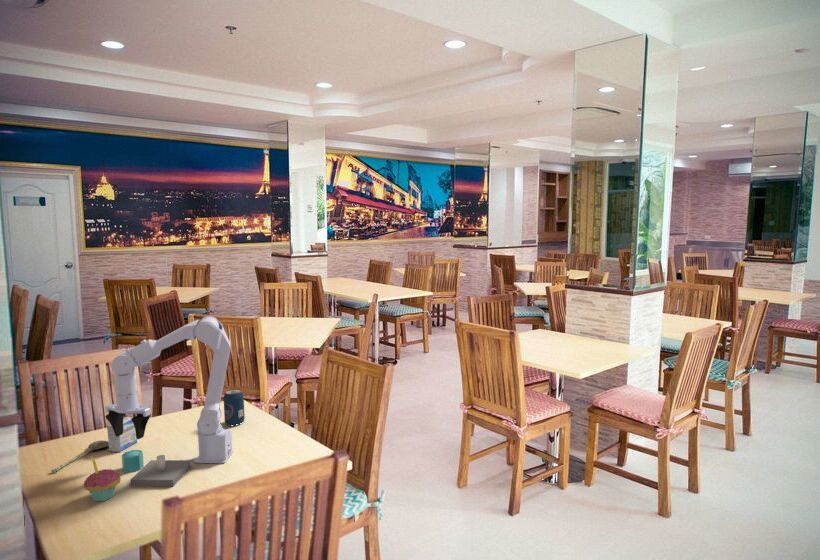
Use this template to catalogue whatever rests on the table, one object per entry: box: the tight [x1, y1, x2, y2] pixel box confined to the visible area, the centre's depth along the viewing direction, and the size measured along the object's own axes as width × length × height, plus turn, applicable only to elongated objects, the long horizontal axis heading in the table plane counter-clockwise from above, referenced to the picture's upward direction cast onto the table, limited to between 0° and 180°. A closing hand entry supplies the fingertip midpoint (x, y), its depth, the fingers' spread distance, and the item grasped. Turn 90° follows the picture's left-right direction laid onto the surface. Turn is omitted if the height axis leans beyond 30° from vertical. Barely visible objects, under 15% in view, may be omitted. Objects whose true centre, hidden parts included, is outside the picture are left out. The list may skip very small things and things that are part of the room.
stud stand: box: [129, 454, 192, 488], centre depth 158 cm, size 12×12×6 cm
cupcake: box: [83, 455, 122, 502], centre depth 146 cm, size 9×8×12 cm
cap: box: [121, 449, 145, 473], centre depth 163 cm, size 5×5×4 cm
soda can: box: [223, 388, 246, 426], centre depth 197 cm, size 7×7×12 cm
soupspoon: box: [50, 440, 109, 474], centre depth 170 cm, size 22×3×7 cm
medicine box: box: [106, 416, 138, 453], centre depth 177 cm, size 8×4×9 cm, turn 168°
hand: (129, 436), depth 163 cm, fingers open, 7 cm apart
